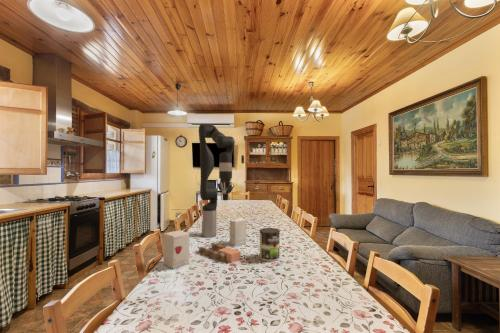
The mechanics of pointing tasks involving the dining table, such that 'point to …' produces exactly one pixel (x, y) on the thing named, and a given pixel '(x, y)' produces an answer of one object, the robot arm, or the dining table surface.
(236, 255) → the terracotta block
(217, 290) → the dining table surface
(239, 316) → the dining table surface
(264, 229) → the coffee can
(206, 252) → the walnut chute
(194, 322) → the dining table surface
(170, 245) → the supplement box
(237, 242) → the skincare box
